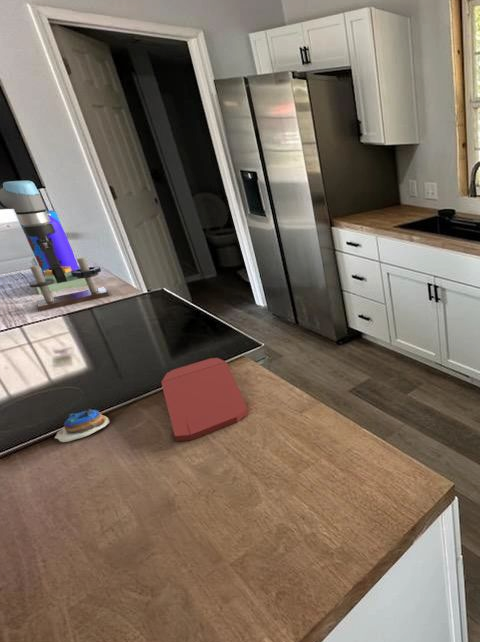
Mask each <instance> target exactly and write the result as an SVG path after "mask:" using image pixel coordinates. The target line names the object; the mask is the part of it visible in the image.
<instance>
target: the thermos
mask: <svg viewBox="0 0 480 642" xmlns="http://www.w3.org/2000/svg"><path fill="white" fill-rule="evenodd" d="M46 212H47V214H48V213H49V214H51V217H53V218H55V219H56V220H58V221H59V223H60V225H61V227H62V229H63V231H64V227H63V226H62V223H61V221H60V218H59V216H58V214H57V212H56V211H55V210H46ZM17 220H18V219H17ZM18 223H19V225H20V227H21V229H22V232H23V234H24V235H25V232H24V230H23V226H24V225H21V224H20V222H19V220H18ZM64 232H65V231H64ZM25 238H26V240H27V243H28V245H29V247H30V249H31V251H32V254H33V255H34V258H35V260H36V262H37V265H39V267H40V269H41V272H42V274H43V276H45V274H44V272H43V271H44V270H47V269H49V268H48V266H47V264H46V262H45V259H44V257H43V255H42V253H41V250H40V248H39V246H38V244H37V242H36V239H35V237H28V236H26V235H25ZM66 238H67V239H68V237H67V236H66ZM69 245H70V243H69ZM70 246H71V245H70ZM74 257H75V255H74ZM75 258H76V257H75Z"/></svg>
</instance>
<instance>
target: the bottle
mask: <svg viewBox="0 0 480 642" xmlns="http://www.w3.org/2000/svg"><path fill="white" fill-rule="evenodd" d="M48 217H49V218H50V222H49V223H51V224H52V225H53V227H54V229H55V233H54V234H50V235H46V236H47V237H48V238H51V239H52V241H53V246H54V248H55V251H54V253H55V255H56V257H57V259H58V261H61V262H62V263H59V264H60V265H61V267H62V266H70V267H71V269H72V271H73V270H75V269H79V268H80V266H79V263H78V261H77V258H76V257H74V256H75V254H74V252H73V249H72V247H71V245H69V244H70V242H69V239H68V237H67V235H66V233H65V231H63V230H64V228H63V226H62V227H61V225H62V224H61V225H60V223H61V222H60V223H59V221H60V220H59V221H58V220H56V219H55V218H53V217H51V216H48ZM62 228H63V229H62ZM66 237H67V238H66ZM35 239H36V240H38V237H37V236H35ZM39 248H40V246H39ZM40 250H41V249H40ZM41 253H42V255H43V257H44V259H45V262H46V264H47V266H48V268H50V265H49V262H48V260H47V258H46V256H45V253H43V252H42V251H41ZM70 272H71V271H70ZM68 273H69V272H68Z"/></svg>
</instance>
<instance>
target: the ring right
mask: <svg viewBox="0 0 480 642" xmlns="http://www.w3.org/2000/svg"><path fill="white" fill-rule="evenodd" d="M88 267H89V269H90V270H87V271H82V270H81V268H80V267H79V269H75V270H73V271H71V274H72V276H73V277H80V276H87V275H92V274H96V273H101V272H102V269H101V267H100V266H99V265H92V266H90V265H89V266H88Z"/></svg>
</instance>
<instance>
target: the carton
mask: <svg viewBox="0 0 480 642" xmlns="http://www.w3.org/2000/svg"><path fill="white" fill-rule="evenodd" d="M160 383H161V386H162V387H161V388H162V392H163V395H164V399H165V403H166V407H167V411H168V414H169V419H170V423H171V428H172V430H173V435H174V438H175V440H176V442H182V441H183V442H184V441H192V440H195V439H198V438H200V437H203V436H205V435H208V434H211V433H213V432H215V431H218V430H220V429H222V428H225V427H229V426H231V425H233V424H235V423H238V422H239V421H241V420H242V419H244V418H245V417H246V416H248V414H250V413H249V408H248V406H247V403H246V402H245V399H244V398H243V395H242V393H241V390H240V388H239V386H238V384H237V382H236V380H235V377H234V375H233V373H232V371H231V369H230V366H229V364H228V362H227V361H226V360H223V359H221V358H219V357H211V358H207V359H204V360H200V361H197V362H194V363H191V364H187V365H184V366H181V367H177V368H174V369H171V370H170V371H168V372H166V374H165V375H164V377H163V378H162V380H161V382H160Z"/></svg>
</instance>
